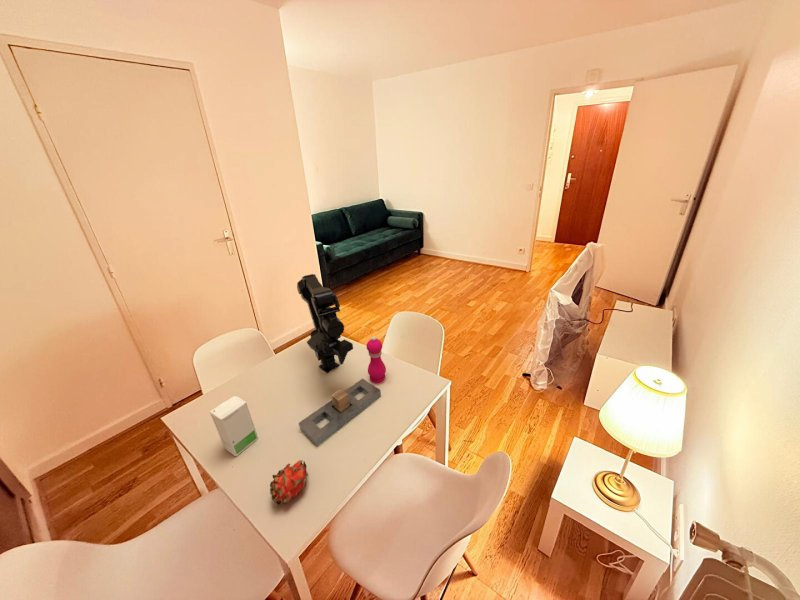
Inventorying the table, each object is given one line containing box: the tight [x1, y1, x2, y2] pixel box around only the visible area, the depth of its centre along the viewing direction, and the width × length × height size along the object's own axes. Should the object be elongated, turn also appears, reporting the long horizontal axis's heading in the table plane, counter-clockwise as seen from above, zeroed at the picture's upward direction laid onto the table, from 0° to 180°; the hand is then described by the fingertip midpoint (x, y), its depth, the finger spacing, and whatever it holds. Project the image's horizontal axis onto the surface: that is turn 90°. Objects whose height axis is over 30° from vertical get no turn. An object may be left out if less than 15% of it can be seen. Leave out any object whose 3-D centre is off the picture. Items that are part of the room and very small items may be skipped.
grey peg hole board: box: [298, 378, 382, 447], centre depth 105 cm, size 10×28×3 cm, turn 138°
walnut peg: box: [331, 388, 350, 414], centre depth 103 cm, size 4×4×8 cm
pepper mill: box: [366, 336, 387, 385], centre depth 116 cm, size 7×7×20 cm
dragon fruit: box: [269, 459, 309, 506], centre depth 80 cm, size 8×8×12 cm
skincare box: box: [209, 395, 259, 457], centre depth 92 cm, size 8×7×16 cm
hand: (334, 359), depth 113 cm, fingers open, 9 cm apart
